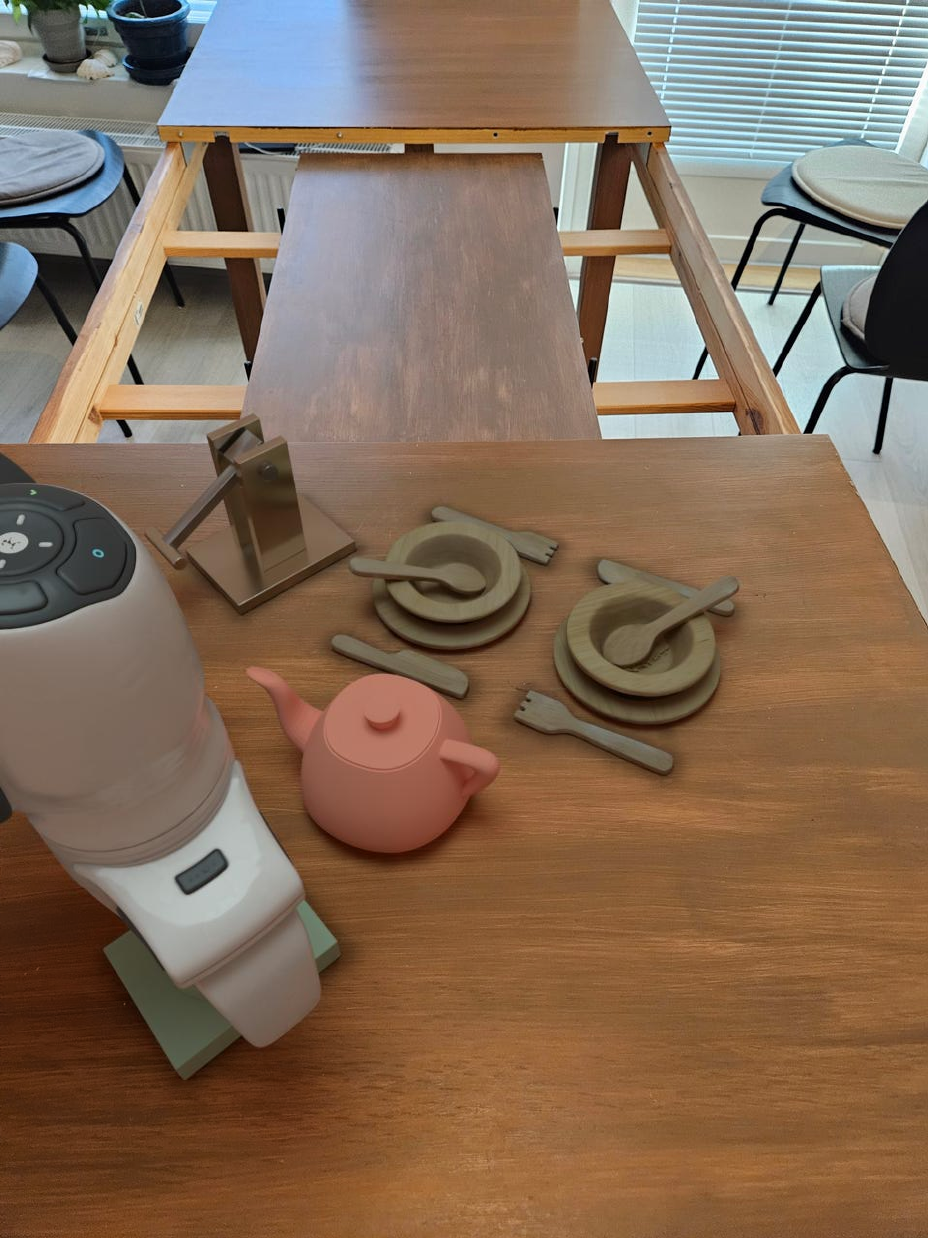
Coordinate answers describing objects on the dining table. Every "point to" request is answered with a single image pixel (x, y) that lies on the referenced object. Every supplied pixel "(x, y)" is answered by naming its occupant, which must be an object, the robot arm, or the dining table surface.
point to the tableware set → (584, 643)
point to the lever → (200, 506)
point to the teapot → (381, 760)
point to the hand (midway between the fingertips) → (210, 920)
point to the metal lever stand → (264, 524)
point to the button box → (192, 997)
